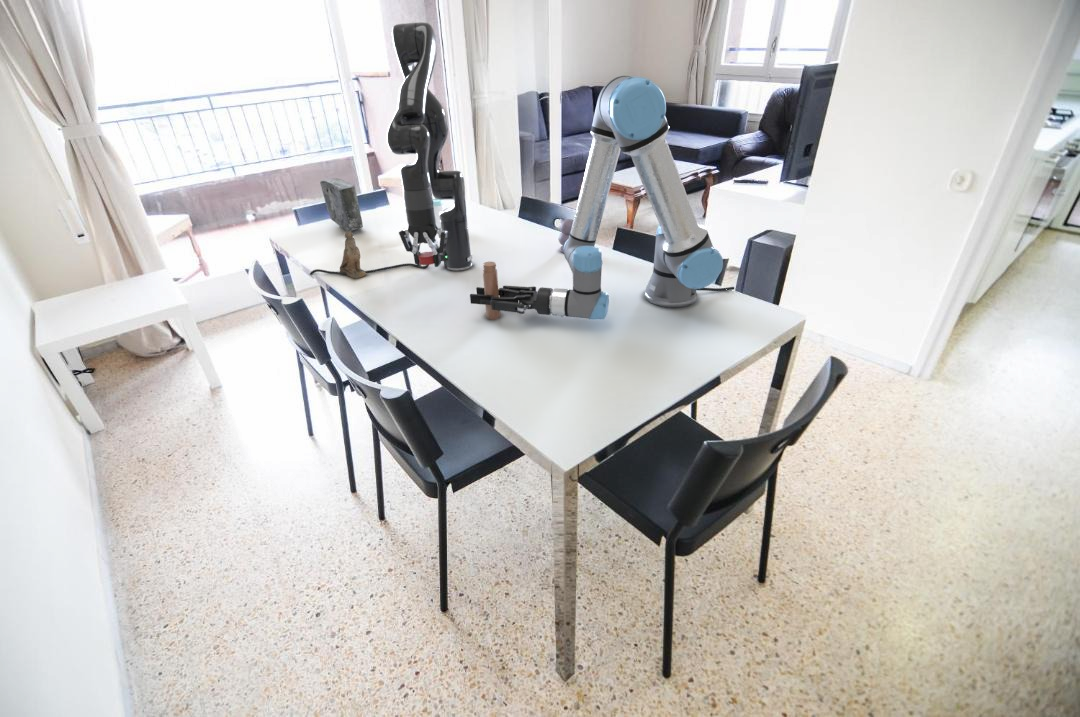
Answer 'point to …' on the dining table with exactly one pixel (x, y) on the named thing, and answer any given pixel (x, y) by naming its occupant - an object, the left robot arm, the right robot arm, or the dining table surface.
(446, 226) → the left robot arm
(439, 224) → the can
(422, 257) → the lid
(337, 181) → the concrete block
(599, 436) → the dining table surface
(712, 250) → the right robot arm
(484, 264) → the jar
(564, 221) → the mauve bulbous figurine
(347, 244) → the brown carved statuette
